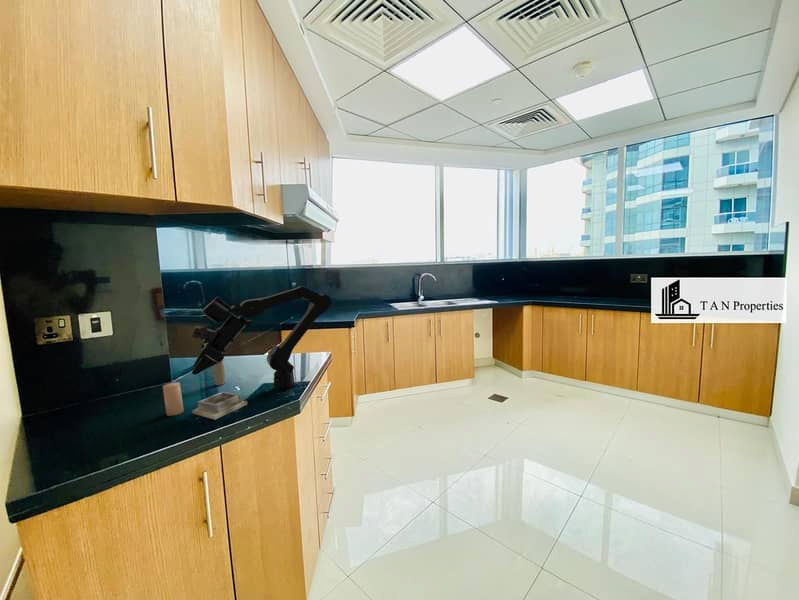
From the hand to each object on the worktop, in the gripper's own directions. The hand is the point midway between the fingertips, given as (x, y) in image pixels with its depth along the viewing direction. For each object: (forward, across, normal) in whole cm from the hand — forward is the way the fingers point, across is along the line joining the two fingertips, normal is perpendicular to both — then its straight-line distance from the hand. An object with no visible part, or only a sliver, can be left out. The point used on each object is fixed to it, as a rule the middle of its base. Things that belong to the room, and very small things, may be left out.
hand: (193, 370), depth 104 cm
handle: (+4, -20, +14) cm, 25 cm away
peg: (+13, 0, +4) cm, 14 cm away
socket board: (+4, +6, +13) cm, 15 cm away
